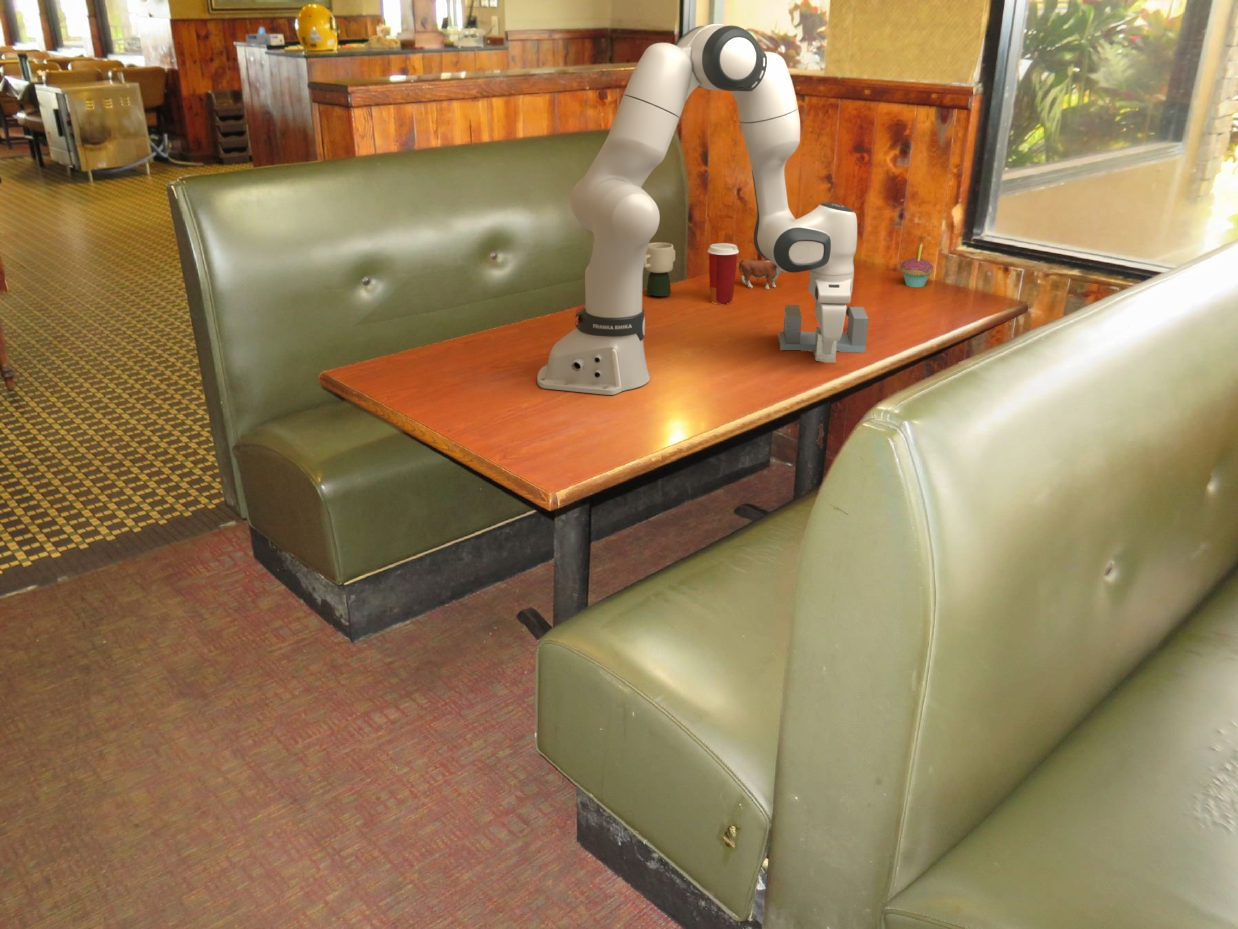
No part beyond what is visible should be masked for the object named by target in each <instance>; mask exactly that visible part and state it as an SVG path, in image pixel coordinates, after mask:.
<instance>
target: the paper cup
mask: <svg viewBox="0 0 1238 929" xmlns="http://www.w3.org/2000/svg"><path fill="white" fill-rule="evenodd" d="M739 252H740V251H739V248H738V246H737V244H734V243H726V242H723V243H722V242H721V243H712V244H710V246H708V249H707V253H708V267H709V268H708V270H709V272H708V274H709V301H711V302H714V303H717V304H716V305H720V304H724V305H728V304H727V303H730V302H732V303H733V298H734V290H735V280H736V271H737V261H738V254H739ZM711 302H710V303H711ZM714 303H713V304H714ZM730 304H731V303H730Z"/></svg>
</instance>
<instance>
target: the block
mask: <svg viewBox="0 0 1238 929" xmlns="http://www.w3.org/2000/svg"><path fill="white" fill-rule="evenodd" d="M815 332H816V335H815V348H814V351H813V356H814V355H815V357H814V359H815V360H816V361H820V362H819V363H836V360H837V359H836V356H837V352H836V348H837V341H834V342H833V346H832V353H831V354H830V355H824V354H823V352H822V348H823V339H822V335H821V332H820V328H819V326H818V327H817V326H816V327H815ZM815 360H814V361H815ZM816 361H815V362H816ZM821 361H822V362H821Z"/></svg>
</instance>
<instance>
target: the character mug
mask: <svg viewBox="0 0 1238 929" xmlns="http://www.w3.org/2000/svg"><path fill="white" fill-rule="evenodd" d="M674 262H676V249H674V245H673V243H669V242H660V241H659V242H649V245H648V249H647V253H646V257H645V262H644V268H643V269H646V271H648V272H650V273H649V274H648V278H647V285H646V295H650V296H653V298H655V297H668V296H670V295H671V294H672V290H671V280H670V275H669V273H670V272H672V271H673V269H674Z"/></svg>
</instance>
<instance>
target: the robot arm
mask: <svg viewBox="0 0 1238 929" xmlns="http://www.w3.org/2000/svg"><path fill="white" fill-rule="evenodd" d="M626 85H627V86H626V87H625V90H624V92H623V95H622V98H621V100H620V101H621V102H620V103H619V106H618V109H617V111H616V115H615V116H614V119H613V122H612V124H611V126H610V130H609V132H608V135H607V137H606V139H605V142H604V144H602V147H601V148H600V150H599V152H598V153H597V155H596V157H595V159H594V160H593V162H592V163H591V165H590V167H589V168H588V170H587V172H586V173H585V175H584V176H583V177H582V178H581V179H580V180H578V182H576V184H575V185H574V186H573V189H572V190H571V194H570V208H571V210H572V211H571V212H572V213H573V215H574V217H575V218H576V219H577V221H578V222H579V224H580V225H581V226H582V227H583V228H584V229H586V230H588V231H589V232H591V233H592V234H593V246H592V251H591V256H590V260H589V263H588V265H587V266H586V268H585V271H584V283H585V284H584V287H585V288H584V290H585V291H584V292H585V299H584V300H585V301H584V302H585V306H584V305H578V306H577V308H576V309H575V312H574V313H575V317H574V318H575V328H574V329H572V330H571V331H570V332H569V333H568V334H566V335H564V336H563V337H562V338H561V339H558V341H556V343H555V344H554V345H553V347H552V348H551V350H550V353H549V356H548V362H547V364H545V365H544V366H542V367H541V368H540V369H539V370H538V372H537V375H536V376H537V378H536V382H537V383H536V384H537V385H538V386H539V387H540V388H541V389H547V390H557V391H566V392H574V393H575V392H576V393H585V394H594V395H595V394H596V395H603V396H604V395H608V396H612V395H613V396H614V395H617V394H619V393H621V392H624V391H629V390H633V389H636V388H640V387H642V386H645V385H647V383H649V381H650V380H651V376H650V373H649V369H648V365H647V359H646V354H645V353H646V352H645V346H644V344H645V343H644V338H645V336H646V335H645V333H646V316H645V309H643V279H644V278H643V277H644V276H643V275H644V269H645V268H644V262H645V257H646V253H647V249H648V245H649V243H650V241H651V239H652V238H653V237H654V236H655V235H656V233H657V231H658V229H659V225H660V220H661V219H660V210H659V207H658V204H657V202H655V201H654V199H653V198H652V197H651V195H650V194H648V193H647V192H646V190H644V189H643V188H642V187H643V185H644V184H645V182H646V180H647V179H648V177H649V176H650V175H651V174H652V172H654V170H655V168H656V167H657V166H658V167H659V165H660V164H661V163H663V161H664V159H665V157H666V155H667V152H668V150H669V147H670V144H671V142H672V140H673V136H674V134H675V132H676V129H677V127H678V123H679V122H680V118H681V116H682V113H683V110H684V107H685V104H686V102H687V100H688V98H689V97H690V95H691V94H692V93H693V91H694V90H695V89H697V88H704V89H706V90H708V91H728V92H730V93H731V94H732V96H733V98H734V100H735V102H736V105H737V111H738V118H739V122H740V128H741V133H742V138H743V142H744V145H745V149H746V152H747V154H748V159H749V163H750V166H751V175H752V180H753V189H754V196H755V204H756V212H757V213H756V222H755V227H754V231H753V244H754V245H753V246H754V247H755V250H756V252H757V254H759V255H760V256H761V257H762V258H763V259H764V260H765V261H771V262H772V263H774V264H775V265H776V266H778V267H779V268H781V269H782V270H784V271H787V272H786V273H792V274H793V273H794V274H795V273H801V272H802V273H803V272H807V271H809V279H808V293H809V294H811V295H812V296H813V300H814V301H815V308H814V314H815V317H816V320H817V325H818V327H819V328H820V332H821V335H822V339H823V348H822V352H823V354H824V355H830V354H831V353H832V346H833V342H834V341H839V340H840V339H841V336H842V333H844V332H843V331H844V327H845V326H844V325H845V319H846V316H847V315H846V310H847V308H848V306H847V305H848V304H850V303H851V300H852V293H853V287H854V277H855V267H854V257H855V254H856V251H857V246H858V244H857V243H858V219H857V215H856V213H855V211H854V210H853V209H852V208H850V207H848V206H847V205H843V204H839V203H834V202H822V203H819V204H818V206H817V207H815V208H814V209H813V210H811V211H810V212H809V213H807V214H805V215H803V216H801V217H798V218H795V216H794V215H793V214H792V212H791V210H790V208H789V202H788V194H787V193H788V192H787V186H786V185H787V184H786V177H785V167H786V163H787V161H788V159H789V158H790V157H792V156H793V154H794V153H795V152H796V150H797V149H798V147H799V146H800V143H801V118H800V113H799V106H798V100H797V96H796V91H795V87H794V82H793V79H792V77H791V74H790V71H789V68H788V66H787V63H786V60H785V59H784V57H782V55H780V54H778V53H776V52H772V51H764V49H762V47H761V46H760V44H759V42H758V41H757V39H756V38H755V37H754V36H753V35H752V34H751V32H750V31H748V30H746V29H744V27H743V28H742V27H740V26H738V25H725V24H722V23H721V24H720V23H714V24H713V23H712V24H707V25H699V26H696V27H693V28H692V29H690V30H688V31H687V32H685V33H684V34H683V35H682V36H681V37H680V38H679V39H678V40H677V41H676V42H674V43H673V44H672V43H669V42H657V43H653V44H651V45H649V46H648V47H647V48H646V49H645V51H644V52H643V54H642V56H641V57H640V58H639V60H638V62H637V64H636V66H635V68H634V69H633V72H632V74H631V76H630V78H629V81H628V83H627V84H626Z"/></svg>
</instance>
